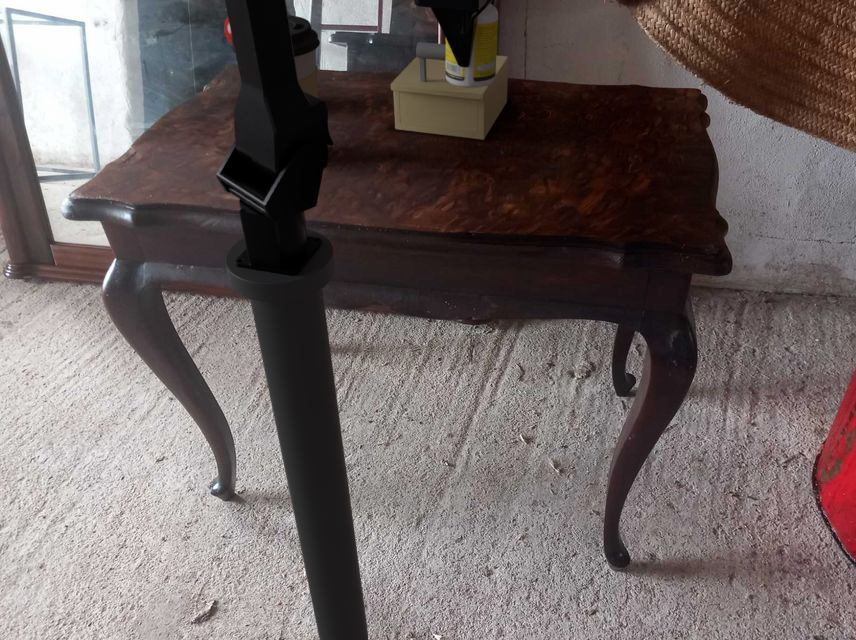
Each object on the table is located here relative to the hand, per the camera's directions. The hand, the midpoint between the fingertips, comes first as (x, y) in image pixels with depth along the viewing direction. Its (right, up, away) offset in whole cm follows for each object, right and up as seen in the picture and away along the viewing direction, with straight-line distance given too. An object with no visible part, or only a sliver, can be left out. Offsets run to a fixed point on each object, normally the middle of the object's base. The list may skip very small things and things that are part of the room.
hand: (471, 57), depth 84 cm
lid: (-2, +4, +17) cm, 17 cm away
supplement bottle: (0, -2, +2) cm, 3 cm away
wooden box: (-2, 0, +20) cm, 20 cm away
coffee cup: (-21, -8, +11) cm, 25 cm away
